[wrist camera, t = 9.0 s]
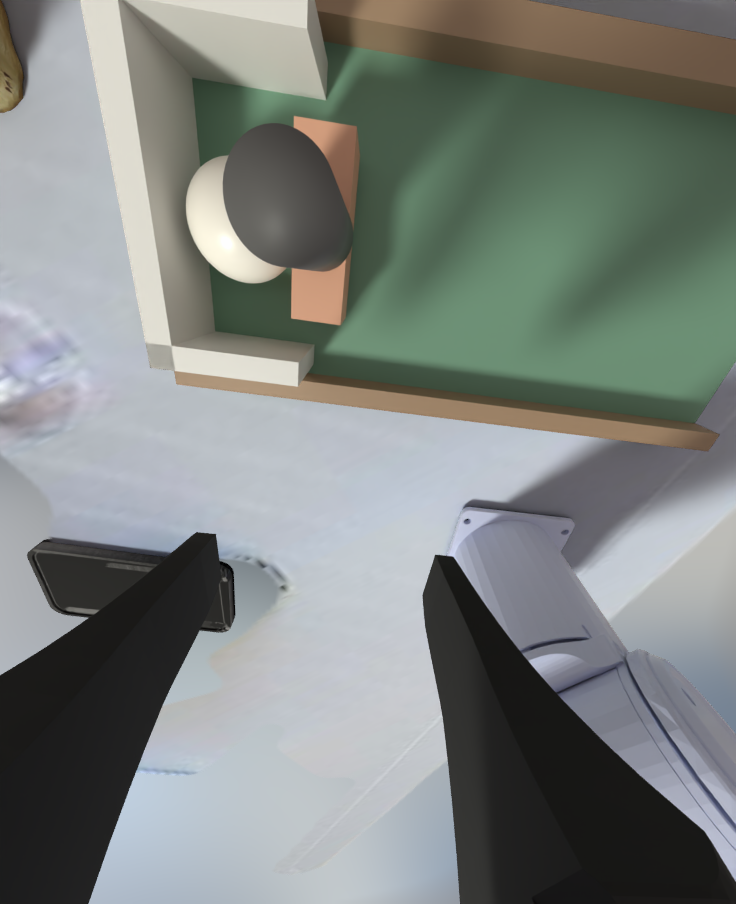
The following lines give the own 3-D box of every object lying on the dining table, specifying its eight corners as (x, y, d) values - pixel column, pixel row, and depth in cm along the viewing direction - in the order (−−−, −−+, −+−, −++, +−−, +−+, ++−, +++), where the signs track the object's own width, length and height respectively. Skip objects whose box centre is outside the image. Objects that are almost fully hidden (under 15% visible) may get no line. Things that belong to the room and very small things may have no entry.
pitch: (670, 431, 20) (708, 451, 17) (200, 371, 18) (176, 384, 16) (867, 117, 13) (969, 83, 11) (154, -13, 12) (103, -80, 9)
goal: (313, 364, 17) (298, 386, 13) (197, 348, 17) (150, 368, 13) (327, 62, 12) (308, -30, 8) (160, 33, 12) (65, -75, 8)
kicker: (349, 318, 16) (328, 354, 8) (300, 311, 16) (233, 341, 8) (364, 156, 13) (353, -10, 5) (304, 146, 13) (207, -38, 5)
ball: (268, 282, 16) (315, 292, 14) (179, 273, 13) (217, 283, 11) (266, 179, 14) (321, 169, 12) (162, 145, 12) (203, 124, 9)
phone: (231, 633, 29) (52, 613, 28) (235, 622, 30) (63, 602, 29) (227, 572, 25) (21, 546, 24) (233, 561, 26) (35, 536, 25)
